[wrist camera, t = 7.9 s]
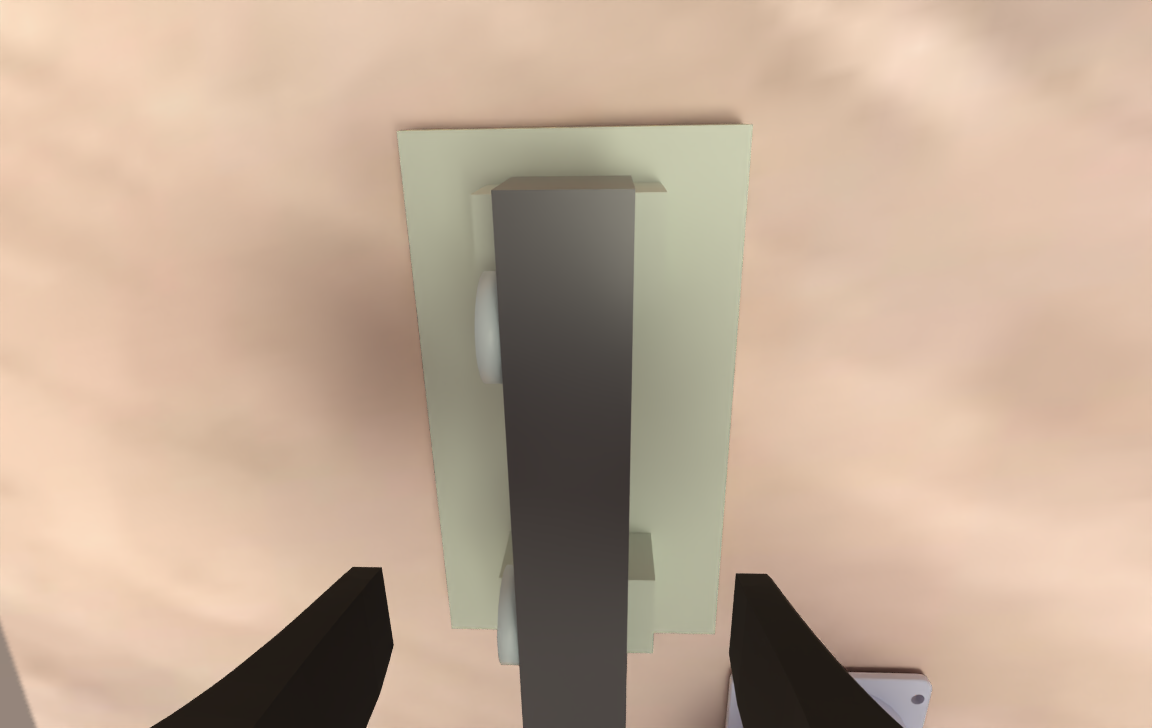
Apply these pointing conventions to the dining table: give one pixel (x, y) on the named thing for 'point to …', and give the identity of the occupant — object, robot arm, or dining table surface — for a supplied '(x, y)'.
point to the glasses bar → (564, 437)
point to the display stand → (659, 353)
